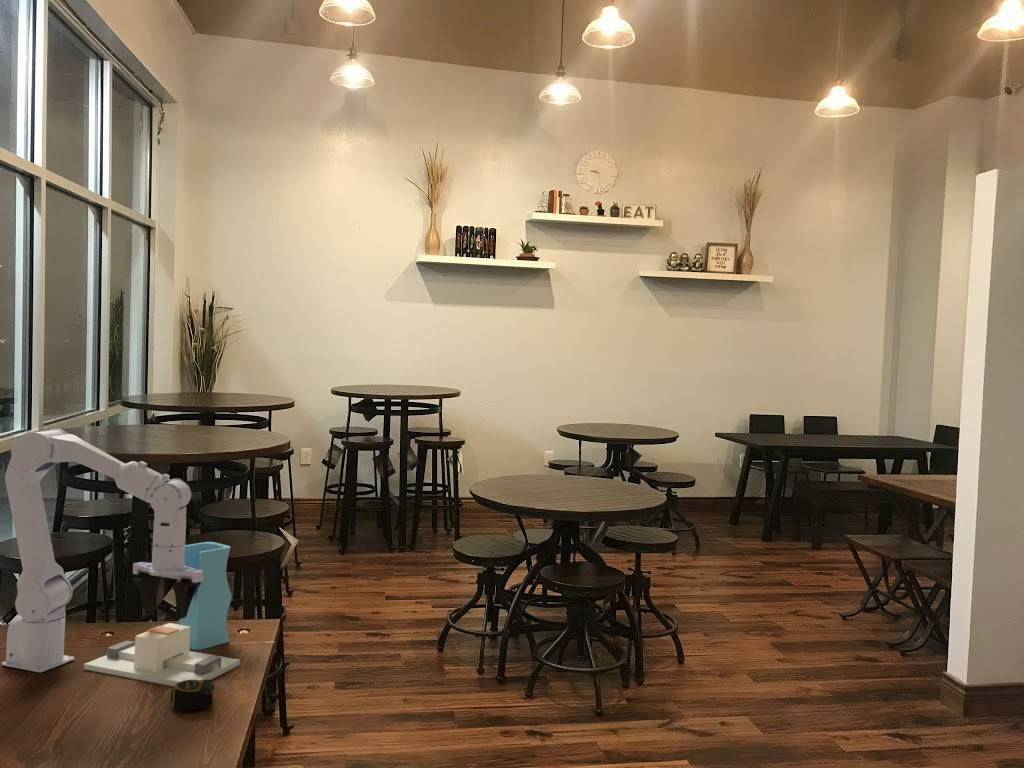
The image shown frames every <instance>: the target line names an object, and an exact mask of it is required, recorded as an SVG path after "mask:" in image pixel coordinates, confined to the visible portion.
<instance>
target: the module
mask: <svg viewBox="0 0 1024 768" xmlns="http://www.w3.org/2000/svg"><path fill="white" fill-rule="evenodd" d="M134 637H135V639H134V642H135V655H134V668H136V669H141V670H147V671H152V672H158V671H160V670H162V669H163V661H165V660H167V659H169V658H171V657H174V656H176V655H178V654H180V655H186V656H189V651H190V648H189V644H190V626H185V625H179V624H178V623H170V622H169V623H165V624H163V625H158V626H155V627H152V628H149V629H147V631H145V632H143V633H139V634H137V635H135V636H134Z"/></svg>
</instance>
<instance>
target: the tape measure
mask: <svg viewBox="0 0 1024 768" xmlns="http://www.w3.org/2000/svg"><path fill="white" fill-rule="evenodd" d="M215 686H216V685H215V684H213V681H212V679H211V680H209V679H208V680H203V681H202V680H185V681H181V682H179V683H177V684H175V685H174V686H172V689H171V691H170V700H169V701H170V703H171V706H172V707H173V708H174V709H176V710H178V711H186V712H187V711H188V712H189V711H190V712H192V711H195V710H202V709H206V708H210V707H211V706H212V705H213V701H214V697H213V691H214V690H215Z"/></svg>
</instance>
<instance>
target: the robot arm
mask: <svg viewBox="0 0 1024 768" xmlns="http://www.w3.org/2000/svg"><path fill="white" fill-rule="evenodd" d="M10 454H11V457H10V460H9V463H8V466H7V467H6V472H5V475H4V482H5V488H6V492H7V497H8V501H9V507H10V513H11V516H12V522H13V527H14V533H15V536H16V541H17V542H16V543H17V547H18V552H19V557H20V561H21V567H22V571H21V574H20V576H19V578H18V580H17V582H16V589H17V595H16V598H15V603H14V604H15V606H14V607H15V610H16V612H17V614H18V615H17V616H15V617H14V618H13V619H12V620H11V622H10V623H9V625H8V628H7V632H6V633H7V634H6V651H5V653H6V654H5V655H6V656H5V661H3V662H1V665H2V666H5V667H10V668H16V669H20V670H25V671H30V672H35V673H43V672H46V671H48V670H51V669H54V668H57V667H59V666H61V665H64V664H67V663H69V662H71V661H75V656H71V655H64V653H65V636H66V635H65V632H66V631H65V629H66V605H67V604H68V603H70V601H71V599H72V597H73V587H72V584H71V582H70V581H69V580H68V579H67V577H66V575H65V571H64V568H63V567H62V566H61V565H60V564H59V563H57V562H56V559H55V553H54V549H53V543H52V539H51V538H52V537H51V535H50V534H51V533H50V529H49V524H48V519H47V513H46V508H45V503H44V498H43V493H42V488H41V483H40V482H41V480H42V479H43V478H44V476H46V474H48V472H49V471H50V470H51V469H52V468H53V467H55V466H56V465H57V464H59V463H67V462H68V463H69V462H75V463H78V464H80V465H83V466H85V467H87V468H90V469H91V470H94V471H96V472H99V473H101V474H103V475H105V476H107V477H109V478H112V479H114V481H115V485H116V486H117V488H118V489H120V490H122V491H124V492H125V493H128V494H130V495H132V496H134V497H136V498H138V499H140V500H142V501H143V502H146V503H150V507H151V508H152V509H153V511H154V519H153V534H152V550H151V551H152V552H151V557H152V558H151V562H145V561H140V562H134V563H132V574H133V575H137V576H136V577H133V580H132V581H133V584H134V585H135V586H136V589H137V592H138V593H139V596H140V599H141V602H142V607H143V610H144V614H145V615H150V614H153V613H154V612H156V609H157V603H158V591H159V587H160V583H161V580H162V578H169V579H175V580H180V581H176V582H173V583H172V589H173V591H174V592H173V593H174V597H175V599H176V600H175V618H176V619H177V620H179V619H182V618H185V617H186V616H187V613H188V609H189V606H190V603H191V601H192V598H193V596H194V594H195V592H196V590H197V589H198V587H199V586H200V584H201V581H203V571H202V570H197V569H194V568H191V567H188V566H184V556H185V545H186V531H187V505H188V504H190V503H189V502H190V501H191V499H192V491H191V487H190V486H189V485H188V483H186V482H185V481H183V480H182V479H181V478H172V479H170V477H171V476H170V474H168V473H164V474H162V473H160V472H157V470H156V471H155V470H154V469H152V468H150V467H147V466H148V463H147V462H145V461H142V460H141V461H138V462H137V461H134V460H133V461H129V462H127V463H125V462H123V461H121V460H119V459H117V458H115V457H114V456H112V455H110V454H108V453H107V452H105V451H103V450H101V449H100V448H97V447H96V446H94V445H92V444H90V443H88V442H87V441H85V440H84V439H81V438H80V437H79V436H77V435H74V434H72V433H67V432H66V431H65V430H62V429H59V428H53V429H52V428H51V429H49V430H48V429H47V430H44V431H43V430H42V431H29V432H26V433H24V434H23V435H21V436H20V437H19V438H18V439H17V440H16V441H15V442H14V443H13V444H12V445H11V447H10Z"/></svg>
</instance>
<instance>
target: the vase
mask: <svg viewBox="0 0 1024 768" xmlns="http://www.w3.org/2000/svg"><path fill="white" fill-rule="evenodd" d="M230 551H231V546H230V545H227V544H222V543H219V542H214V541H204V542H198V543H191V544H185V556H184V566H188V567H191V568H194V569H197V570H202V571H203V581H201V584H200V586H199V587H198V589H197V590H196V592H195V594H194V596H193V598H192V601H191V603H190V606H189V609H188V613H187V616H186V617H185V618H182V619H178V620H179V624H178V625H185V626H190V644H189V650H193V651H201V650H203V649H208V648H211V647H215V646H218V645H219V646H220V645H223V644H226V643H229V642H230V638H229V635H228V634H229V633H228V628H227V627H228V626H227V619H228V612H229V609H230V606H231V605H230V604H231V602H232V591H231V589H230V585H229V582H228V581H229V580H228V576H227V565H228V559H229V555H230ZM175 601H176V598H175Z"/></svg>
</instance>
